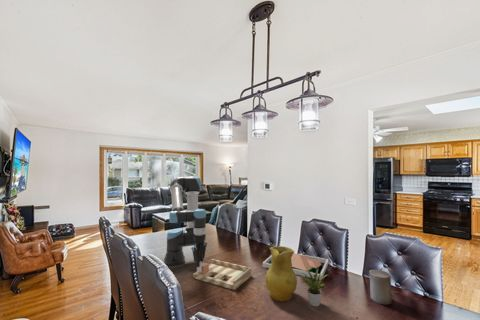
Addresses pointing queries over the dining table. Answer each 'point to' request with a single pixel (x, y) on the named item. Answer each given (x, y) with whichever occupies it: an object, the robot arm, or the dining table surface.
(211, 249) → the dining table surface
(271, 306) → the dining table surface
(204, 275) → the cube sorting tray
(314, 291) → the house plant
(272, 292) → the pitcher
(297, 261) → the house
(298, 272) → the serving tray rim
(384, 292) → the pillar candle
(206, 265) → the salmon block
